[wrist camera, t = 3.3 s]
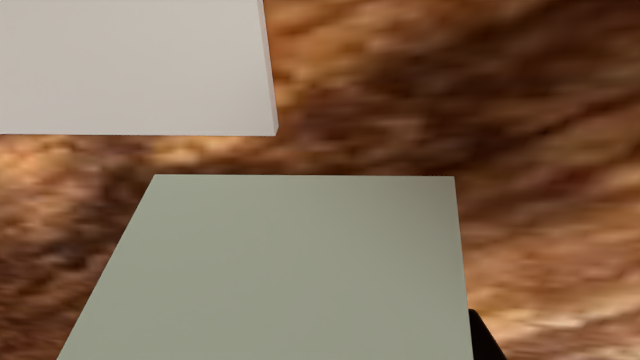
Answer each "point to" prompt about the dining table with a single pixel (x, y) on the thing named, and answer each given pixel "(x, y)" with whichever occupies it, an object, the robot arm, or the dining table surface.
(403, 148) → the dining table surface
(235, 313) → the sage cube
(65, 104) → the white base plate
